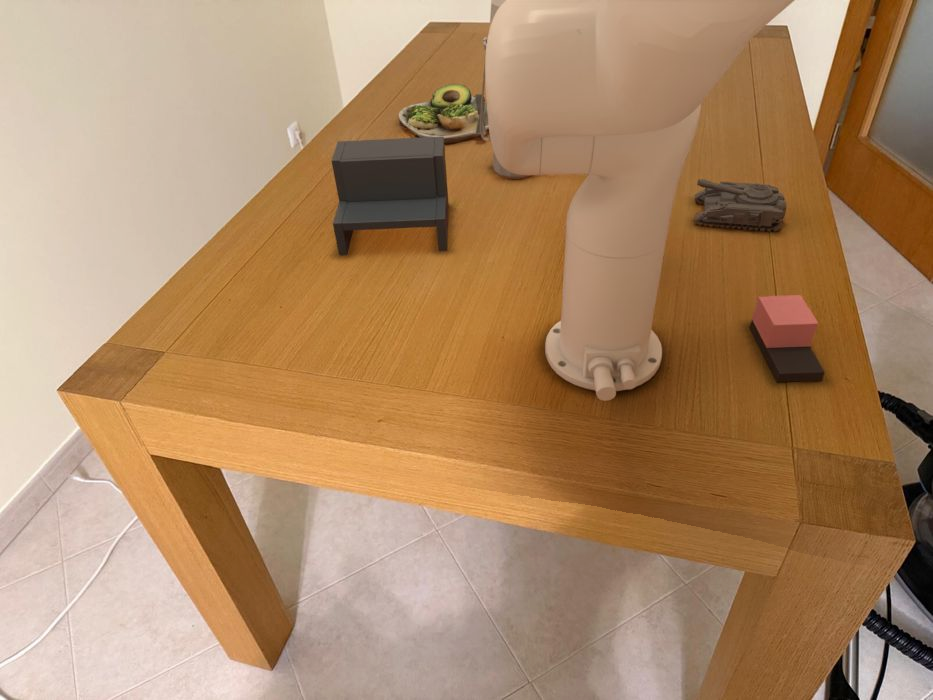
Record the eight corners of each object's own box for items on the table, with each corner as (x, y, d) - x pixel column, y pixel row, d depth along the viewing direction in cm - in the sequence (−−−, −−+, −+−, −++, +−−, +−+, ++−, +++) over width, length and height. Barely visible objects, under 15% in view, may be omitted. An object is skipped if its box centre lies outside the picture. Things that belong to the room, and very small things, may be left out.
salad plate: (524, 133, 120) (524, 107, 117) (431, 157, 114) (429, 131, 111) (474, 98, 133) (473, 74, 130) (389, 118, 127) (386, 93, 124)
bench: (447, 251, 92) (441, 176, 85) (339, 255, 93) (324, 181, 86) (448, 206, 101) (443, 136, 94) (350, 211, 102) (337, 141, 95)
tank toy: (691, 229, 94) (698, 195, 90) (691, 196, 100) (697, 163, 97) (785, 237, 91) (795, 202, 88) (778, 202, 98) (787, 168, 95)
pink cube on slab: (821, 380, 71) (834, 348, 68) (776, 382, 71) (787, 350, 68) (790, 325, 77) (800, 294, 74) (749, 327, 77) (758, 296, 75)
